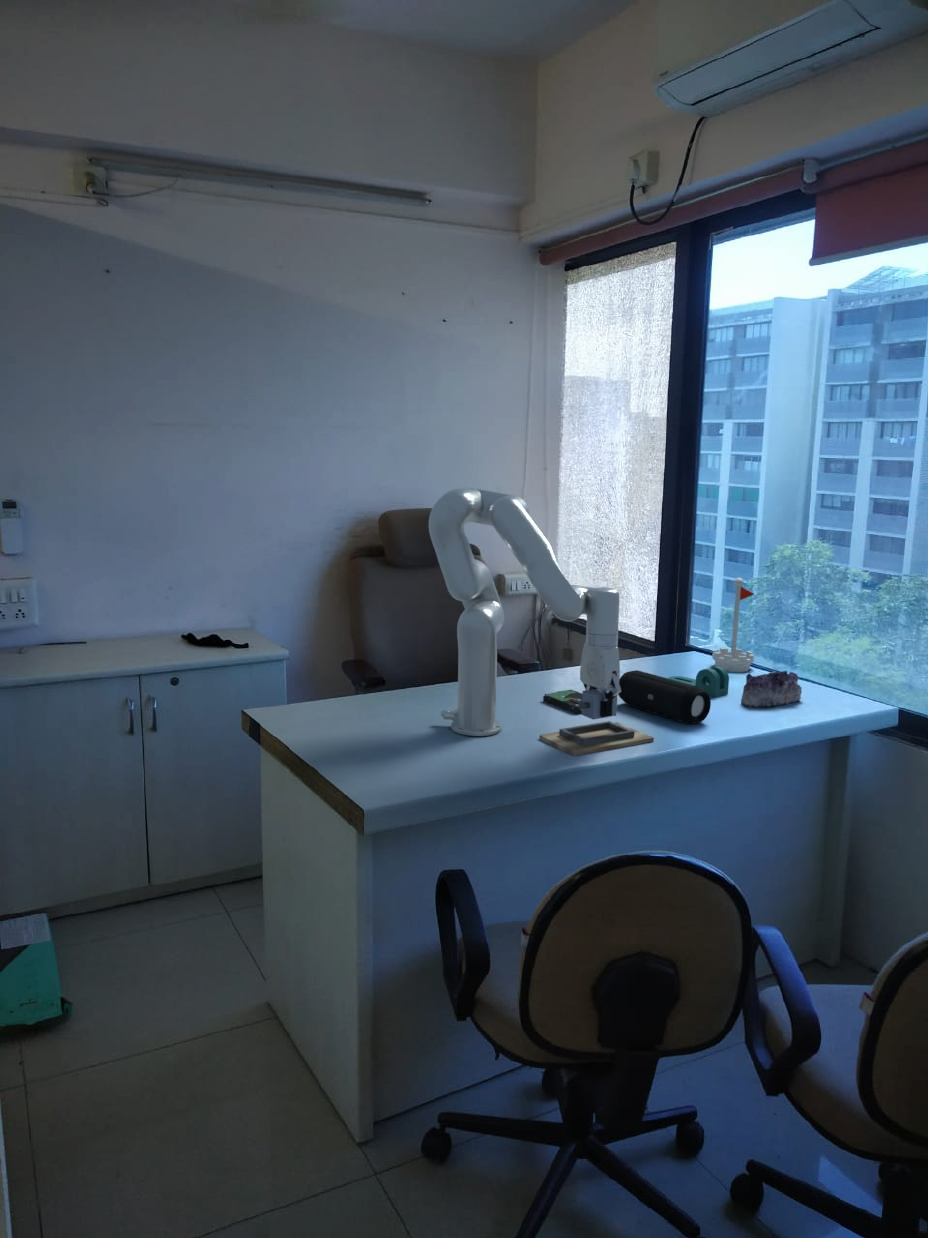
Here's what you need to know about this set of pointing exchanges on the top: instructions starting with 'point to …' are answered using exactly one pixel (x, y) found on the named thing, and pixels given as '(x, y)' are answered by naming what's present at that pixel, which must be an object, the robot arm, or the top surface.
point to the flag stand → (735, 640)
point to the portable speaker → (664, 696)
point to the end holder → (595, 738)
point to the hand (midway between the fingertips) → (599, 712)
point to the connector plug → (594, 704)
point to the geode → (770, 690)
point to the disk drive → (565, 700)
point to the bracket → (709, 681)
